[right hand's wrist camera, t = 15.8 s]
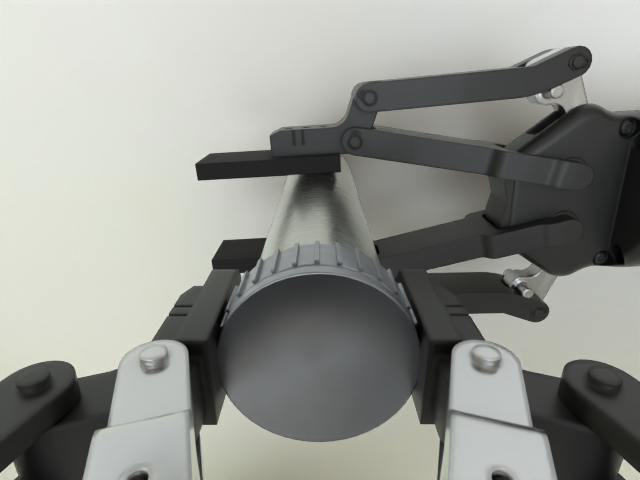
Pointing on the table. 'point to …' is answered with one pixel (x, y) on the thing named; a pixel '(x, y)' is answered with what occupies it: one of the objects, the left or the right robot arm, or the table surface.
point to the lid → (318, 344)
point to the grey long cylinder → (320, 214)
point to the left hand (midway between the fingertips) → (212, 213)
